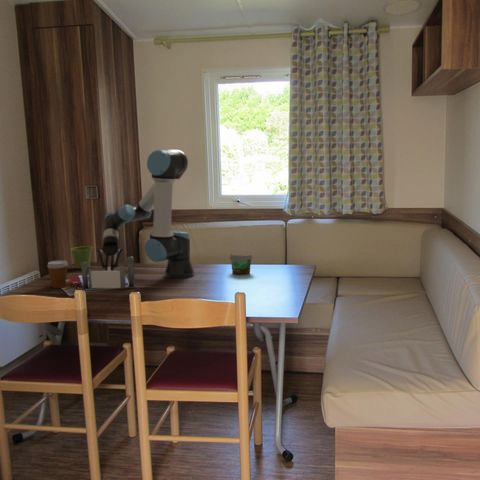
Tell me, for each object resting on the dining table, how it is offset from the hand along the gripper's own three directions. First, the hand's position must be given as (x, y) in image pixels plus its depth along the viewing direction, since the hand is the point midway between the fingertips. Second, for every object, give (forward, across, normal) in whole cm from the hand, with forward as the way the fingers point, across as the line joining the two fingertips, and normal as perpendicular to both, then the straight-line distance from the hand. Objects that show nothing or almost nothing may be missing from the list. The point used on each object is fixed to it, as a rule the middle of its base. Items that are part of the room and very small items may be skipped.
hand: (108, 279), depth 252 cm
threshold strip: (+6, -1, +2) cm, 6 cm away
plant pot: (-28, +19, -32) cm, 47 cm away
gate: (+6, 0, +3) cm, 7 cm away
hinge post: (+6, +10, +2) cm, 12 cm away
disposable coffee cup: (0, +24, -4) cm, 24 cm away
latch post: (+6, -11, +2) cm, 13 cm away
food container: (-5, -65, -10) cm, 66 cm away
